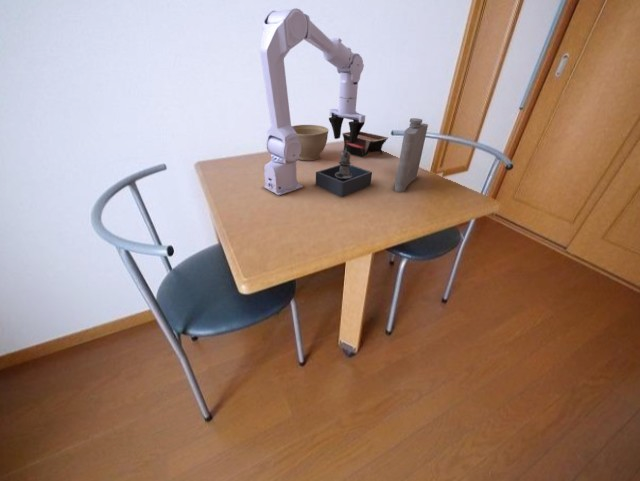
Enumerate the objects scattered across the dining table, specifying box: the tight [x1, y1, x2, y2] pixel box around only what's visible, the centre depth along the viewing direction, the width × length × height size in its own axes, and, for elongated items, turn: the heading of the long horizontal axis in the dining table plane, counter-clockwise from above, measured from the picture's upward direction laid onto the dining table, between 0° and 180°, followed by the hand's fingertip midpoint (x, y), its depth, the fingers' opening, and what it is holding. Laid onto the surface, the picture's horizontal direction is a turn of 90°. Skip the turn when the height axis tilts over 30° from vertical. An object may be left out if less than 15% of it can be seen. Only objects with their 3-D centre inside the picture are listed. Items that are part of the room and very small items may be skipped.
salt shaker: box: [335, 148, 353, 181], centre depth 89 cm, size 6×6×12 cm
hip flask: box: [393, 117, 429, 193], centre depth 89 cm, size 16×4×20 cm, turn 148°
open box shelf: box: [315, 164, 373, 198], centre depth 91 cm, size 14×12×4 cm
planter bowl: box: [291, 124, 329, 161], centre depth 112 cm, size 16×16×11 cm
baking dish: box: [341, 130, 389, 158], centre depth 120 cm, size 14×18×10 cm
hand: (344, 140), depth 100 cm, fingers open, 7 cm apart
